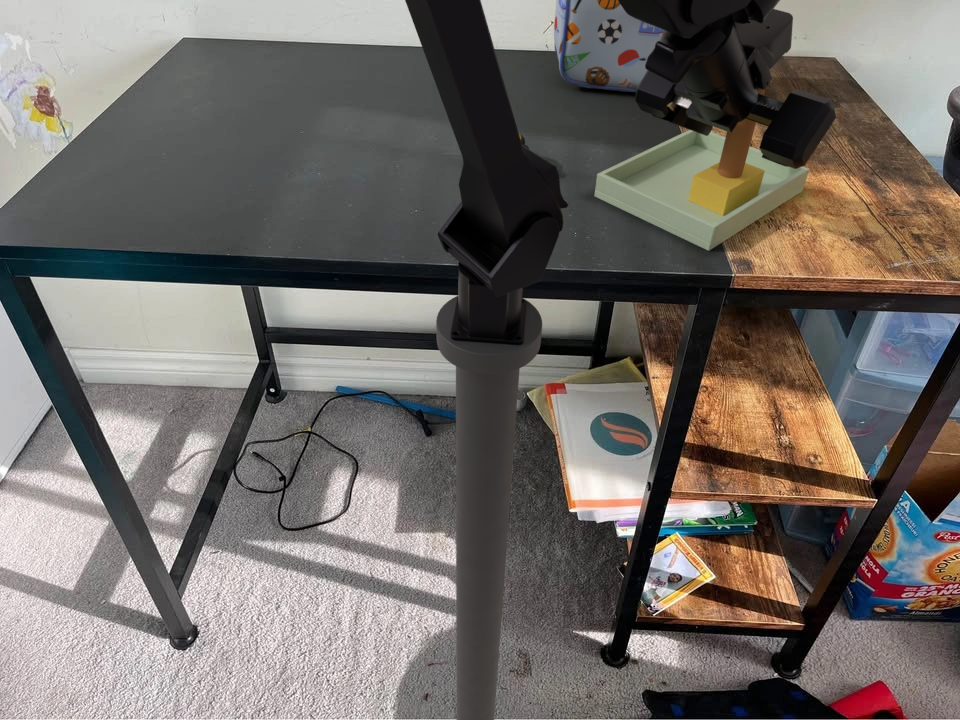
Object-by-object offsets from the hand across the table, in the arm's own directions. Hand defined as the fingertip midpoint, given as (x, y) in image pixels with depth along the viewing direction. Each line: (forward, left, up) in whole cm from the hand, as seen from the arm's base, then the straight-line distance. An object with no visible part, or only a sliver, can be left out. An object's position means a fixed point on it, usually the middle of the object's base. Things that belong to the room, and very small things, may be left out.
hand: (746, 145), depth 79 cm
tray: (+2, +3, -7) cm, 8 cm away
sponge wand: (0, +1, -6) cm, 6 cm away
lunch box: (+35, +7, -7) cm, 36 cm away
